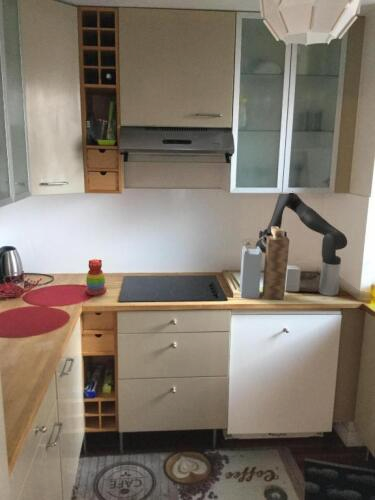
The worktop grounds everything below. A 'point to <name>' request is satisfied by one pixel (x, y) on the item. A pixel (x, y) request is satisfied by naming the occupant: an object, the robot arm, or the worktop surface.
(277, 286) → the walnut block
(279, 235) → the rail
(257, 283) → the holder
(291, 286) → the supplement box
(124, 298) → the worktop surface
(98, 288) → the stacking bear
